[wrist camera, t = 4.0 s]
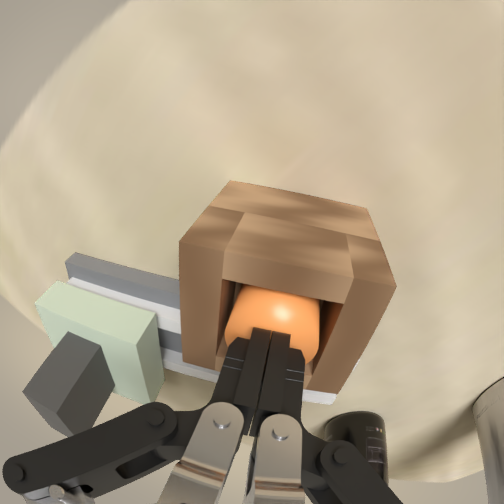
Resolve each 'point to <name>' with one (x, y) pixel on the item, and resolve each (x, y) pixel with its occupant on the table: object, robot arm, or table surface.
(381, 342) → the table surface
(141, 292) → the track
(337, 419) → the supplement bottle
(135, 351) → the carriage
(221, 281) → the cabinet
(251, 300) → the button
